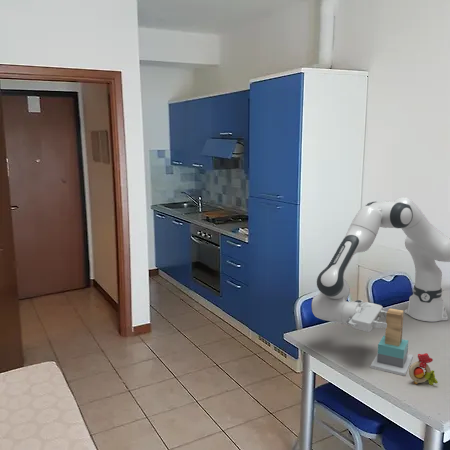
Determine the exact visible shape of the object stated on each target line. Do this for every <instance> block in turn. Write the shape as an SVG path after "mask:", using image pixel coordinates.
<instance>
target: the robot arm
mask: <svg viewBox="0 0 450 450" xmlns="http://www.w3.org/2000/svg"><path fill="white" fill-rule="evenodd" d="M380 228H384V229H387V228H389V229H401V230H402V232H403V233H404V234H405V236H406V237H405V238H404V239H405V240H404V245H405V246H404V247H405V249H406V250H407V251H408V252H409V254H410V256H411V258H412V260H413V264H414V269H415V273H414V274H415V275H414V276H415V279H414V280H415V281H414V285H413V289H412V290H413V291H412V293H413V294H412V295H410V296H409V299H408V301H409V302H408V307H407V308H406V309H405V310H403V311H404V313H403V314H406V315H409V317H411V318H413V319H416V320H418V321H422V322H423V321H424V322H440V321H448V320H449V316H448V313H447V310H446V307H445V306H444V305H445V301H444V299H443V297H442V294H443V290H442V279H443V273H442V270H441V269H440V267H439V266H438V265H437V262H444V263H445V262H448V263H449V262H450V237H448V236H447V235H445V234H444V233H443V232H441V231H440V230H439V229H438V228H437V227H435V226H434V224H432V223H431V222H430V221H429V219H428V218H427V217H426V215H425V214H424V213H423V211H422V210H421V208H419V206H418V205H417V204H416V203H415V202H414V201H412V199H410V198H409V197H406V196H402V197H399V198H396V199H395V200H394V201H390V200H389V201H386V200H385V201H371V202H368V203H367V204H365V205H364V206H362V207H361V208H360V209H359V210H358V212H357V213H356V215H355V216H354V217H353V219H352V221H351V223H350V225H349V228H348V229H347V232H346V234H345V236H344V238H343V239H342V241H341V242H340V244H339V246H338V247H337V249H336V251H335V253H334V255H333V257H332V258H331V260H330V262H329V264H328V265H327V266H326V267H325V268H324V269H323V270H322V271H321V272H320V273H319V274H318V276H317V277H316V287H317V289H318V291H319V293H318V294H317V295H316V296H315V297H313V298H312V300H311V303H310V304H311V313H312V314H313V316H314V317H315V318H317V319H320V320H322V321H327V322H330V323H331V322H332V323H333V322H336V323H341V324H342V325H346V326H347V325H348V326H351V328H352V329H355V330H360V331H363V332H367V333H368V332H371V331H372V330H373V329H374V328H375V329H379V328H380V329H381V328H382V329H386V328H387V326H388V323H387V322H386V321H379V320H380V318H386V315H387V311H385V310H384V308H383V306H382V305H381V304H377V303H372V302H368V301H364V300H363V299H356V300H354V301H353V300H352V301H347V300H348V298H349V297H350V296H349V295H350V291H351V290H350V289H351V288H350V286H349V283H348V281H346V279H345V271H346V270H347V267H348V266H349V264H350V262H351V260H352V259H353V257H354V256H355V255H356V254H358V253H366V252H367V251H368V250H369V249H371V246H373V244H374V242H375V240H376V238H377V235H378V233H379V230H380ZM436 261H437V262H436Z"/></svg>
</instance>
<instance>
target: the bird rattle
mask: <svg viewBox="0 0 450 450" xmlns="http://www.w3.org/2000/svg"><path fill="white" fill-rule="evenodd" d="M417 359H418V360H417V361H414V362H413V363H412V364H410V366H409V368H408V375H409V377H410V378H411V380H412V381H413V383H414V384H416V385H417V384H420V383H421V384H422V383H425V382H426V381H427V383H428V384H429V385H431V386H432V385H434V384H438V382H439V381H438V380H437V379H436V376H435V375H436V374H435V370H431V367H430V366H429V365H428V364H430V363H432V362H433V361H434V360H433V358H431V357H430V355H429V354H428V353H418V354H417Z"/></svg>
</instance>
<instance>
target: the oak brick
mask: <svg viewBox="0 0 450 450" xmlns="http://www.w3.org/2000/svg"><path fill="white" fill-rule="evenodd" d="M404 311H405V310H403V309H402V310H401V309H396V308H388V310H387V311H386V312H387V315H386V317H385V322H387V323H388V326H387V328H385V334H384V336H385V344H390V345H394V346H400V344H401V342H402V339H403V326H404V314H405V313H404Z"/></svg>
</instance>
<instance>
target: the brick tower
mask: <svg viewBox="0 0 450 450" xmlns="http://www.w3.org/2000/svg"><path fill="white" fill-rule="evenodd" d="M413 359H414V354H410V353H409V340H408V339H403V338H402V342H401V344H400V346H394V345H390V344H385V335H383V336H382V337H381V339H380V340H379V342H378V344H377V354H376V355H375V357H374V359H373V361H372V362H371V364H370V369H374V370H378V371H383V372H387V373H392V374H396V375H400V376H403V377H405V376H406V375H407V373H408V371H409V368H410V366H411V363H412V360H413Z"/></svg>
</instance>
